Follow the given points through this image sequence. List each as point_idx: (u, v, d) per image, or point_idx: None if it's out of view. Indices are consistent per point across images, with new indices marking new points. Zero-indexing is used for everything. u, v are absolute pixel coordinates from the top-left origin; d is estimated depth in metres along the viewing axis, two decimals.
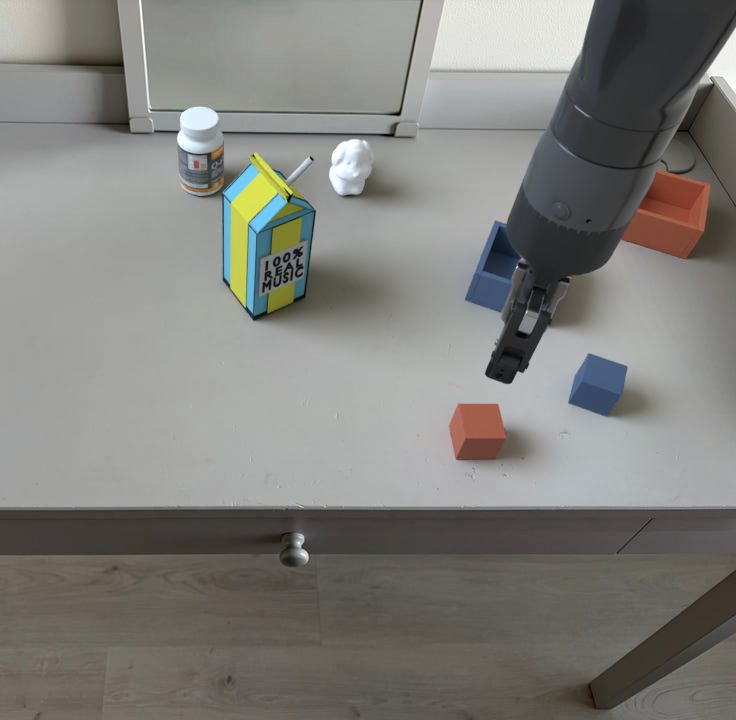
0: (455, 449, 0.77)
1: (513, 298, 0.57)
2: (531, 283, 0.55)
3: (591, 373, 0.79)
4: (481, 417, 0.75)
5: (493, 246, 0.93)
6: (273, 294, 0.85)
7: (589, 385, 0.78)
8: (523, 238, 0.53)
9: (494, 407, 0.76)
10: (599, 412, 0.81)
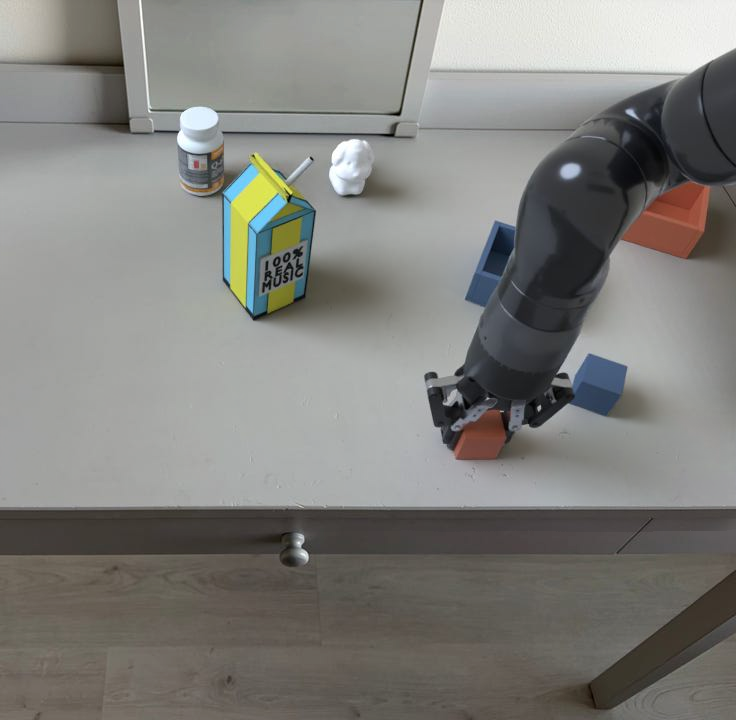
0: (455, 449, 0.77)
1: None
2: (460, 368, 0.69)
3: (591, 373, 0.79)
4: (481, 417, 0.75)
5: (493, 246, 0.93)
6: (273, 294, 0.85)
7: (589, 385, 0.78)
8: None
9: None
10: (599, 412, 0.81)
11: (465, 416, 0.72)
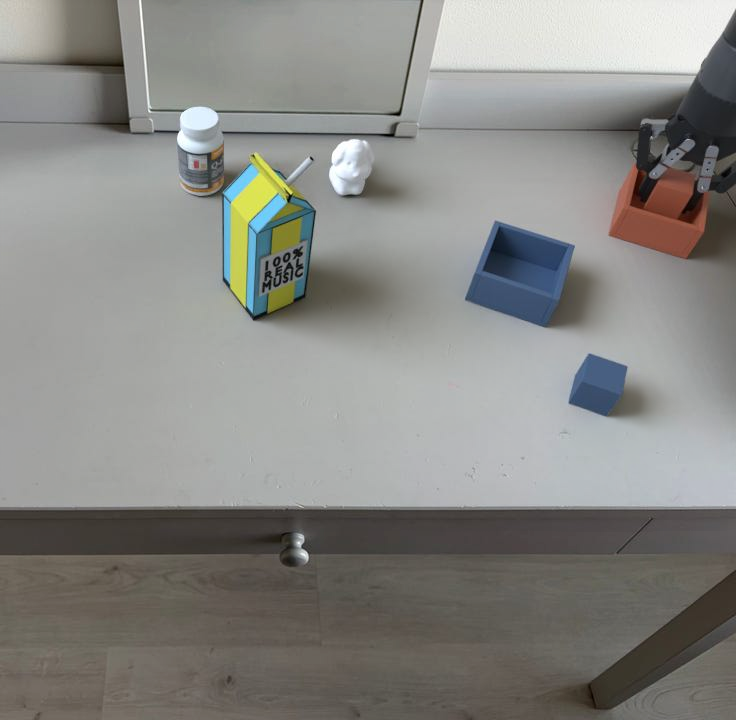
0: (646, 202, 0.96)
1: None
2: None
3: (591, 373, 0.79)
4: (677, 177, 0.93)
5: (493, 246, 0.93)
6: (273, 294, 0.85)
7: (589, 385, 0.78)
8: None
9: (691, 175, 0.94)
10: (599, 412, 0.81)
11: (664, 159, 0.90)
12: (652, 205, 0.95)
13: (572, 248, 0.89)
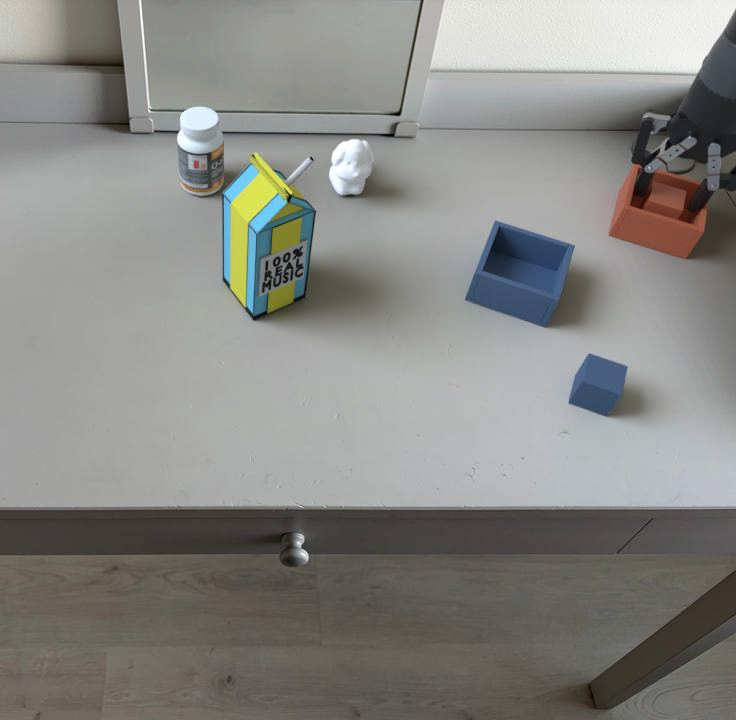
0: None
1: None
2: (675, 111, 0.88)
3: (591, 373, 0.79)
4: (668, 193, 0.95)
5: (493, 246, 0.93)
6: (273, 294, 0.85)
7: (589, 385, 0.78)
8: None
9: (682, 192, 0.96)
10: (599, 412, 0.81)
11: (663, 154, 0.90)
12: None
13: (572, 248, 0.89)
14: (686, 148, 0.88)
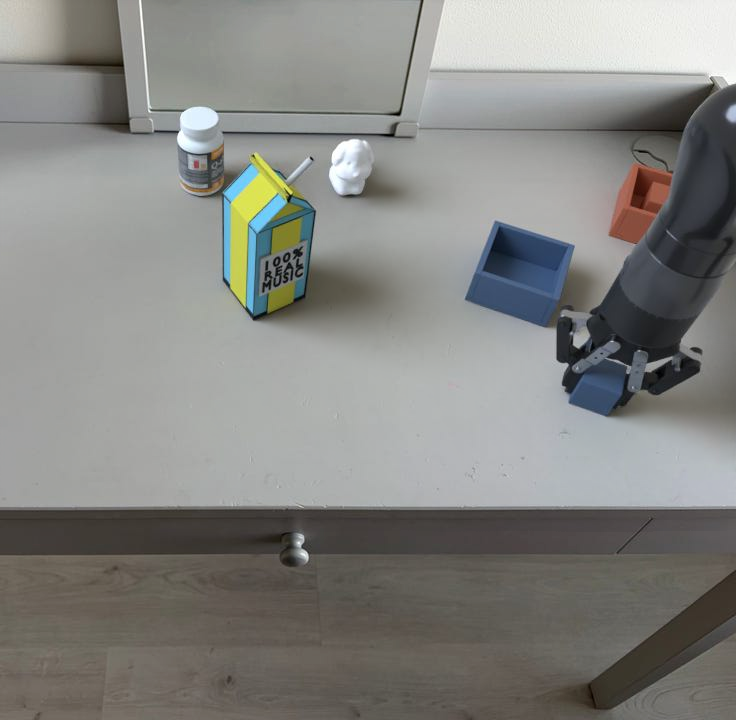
0: None
1: None
2: (596, 307, 0.74)
3: (591, 373, 0.79)
4: (668, 193, 0.95)
5: (493, 246, 0.93)
6: (273, 294, 0.85)
7: (589, 385, 0.78)
8: None
9: None
10: (599, 412, 0.81)
11: (587, 356, 0.76)
12: None
13: (572, 248, 0.89)
14: (609, 351, 0.74)
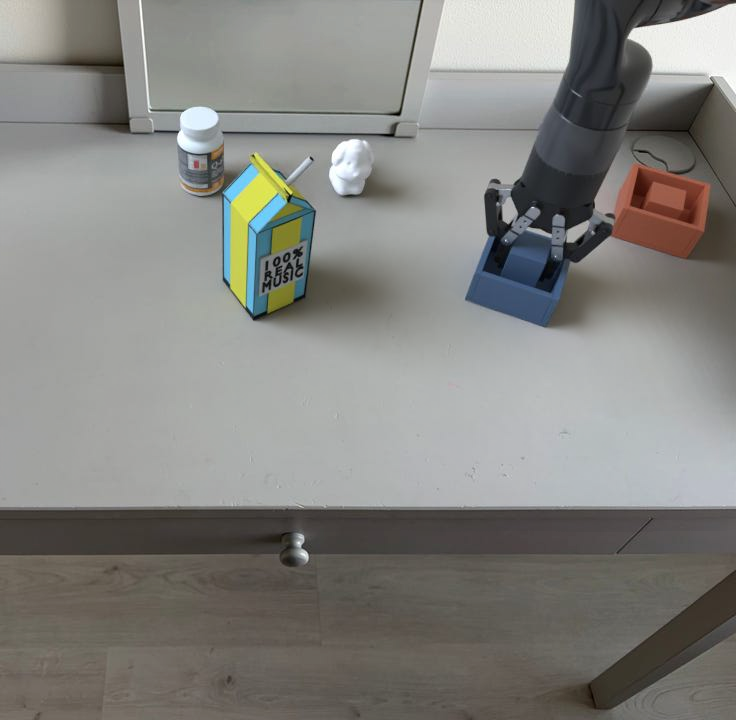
0: None
1: None
2: (519, 178, 0.81)
3: (519, 246, 0.86)
4: (668, 193, 0.95)
5: (493, 246, 0.93)
6: (273, 294, 0.85)
7: (517, 256, 0.86)
8: None
9: (682, 192, 0.96)
10: (528, 284, 0.88)
11: (513, 226, 0.83)
12: None
13: None
14: (531, 218, 0.81)
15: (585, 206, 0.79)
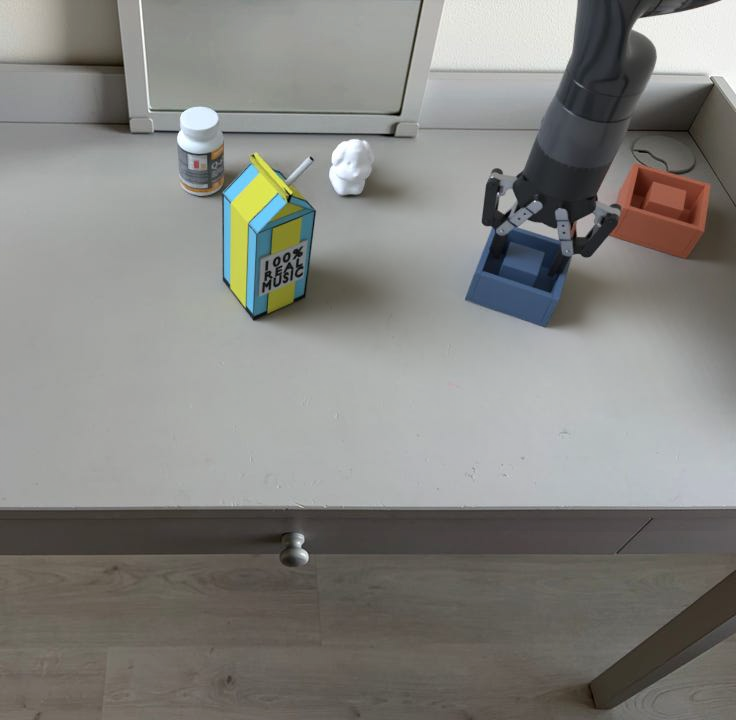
0: None
1: None
2: None
3: (511, 258, 0.88)
4: (668, 193, 0.95)
5: None
6: (273, 294, 0.85)
7: (509, 268, 0.87)
8: None
9: (682, 192, 0.96)
10: None
11: (512, 217, 0.83)
12: None
13: None
14: (533, 212, 0.81)
15: (588, 199, 0.78)
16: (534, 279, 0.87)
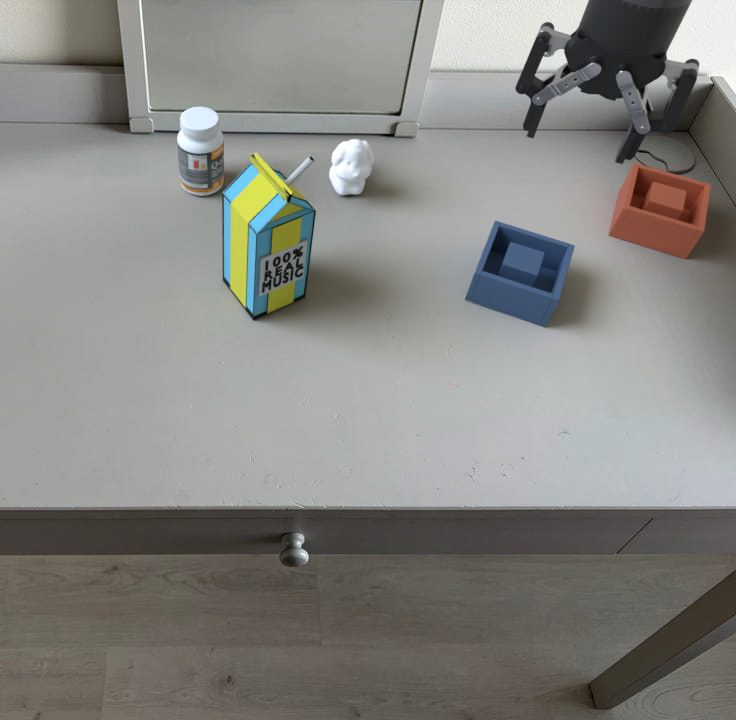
0: None
1: None
2: (575, 31, 0.68)
3: (511, 258, 0.88)
4: (668, 193, 0.95)
5: (493, 246, 0.93)
6: (273, 294, 0.85)
7: (509, 268, 0.87)
8: None
9: (682, 192, 0.96)
10: None
11: (558, 81, 0.70)
12: None
13: (572, 248, 0.89)
14: (589, 79, 0.68)
15: (656, 58, 0.65)
16: (534, 279, 0.87)
